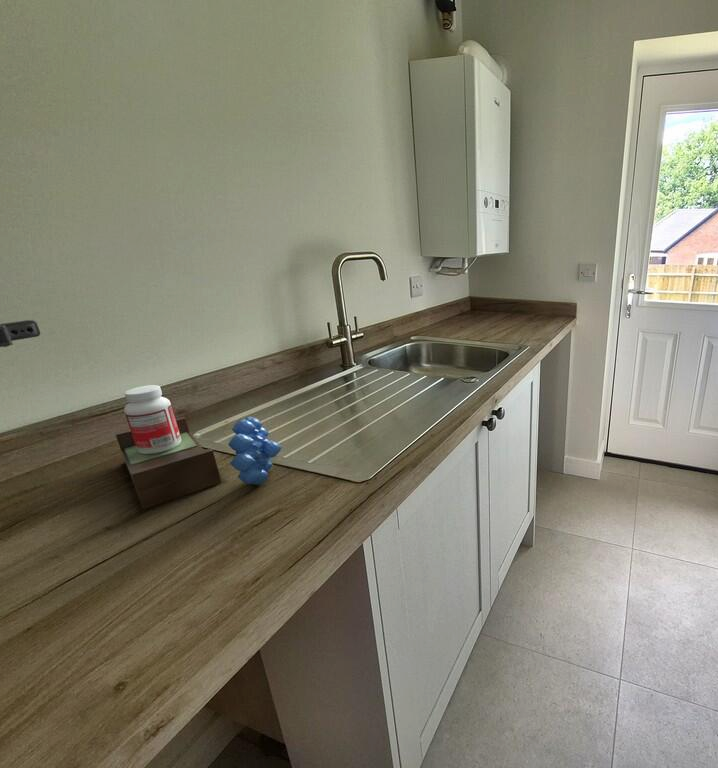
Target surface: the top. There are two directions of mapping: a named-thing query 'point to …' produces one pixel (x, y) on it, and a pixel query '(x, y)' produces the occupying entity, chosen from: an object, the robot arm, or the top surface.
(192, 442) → the brown two-tone box
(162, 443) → the pill bottle
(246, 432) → the grapes
